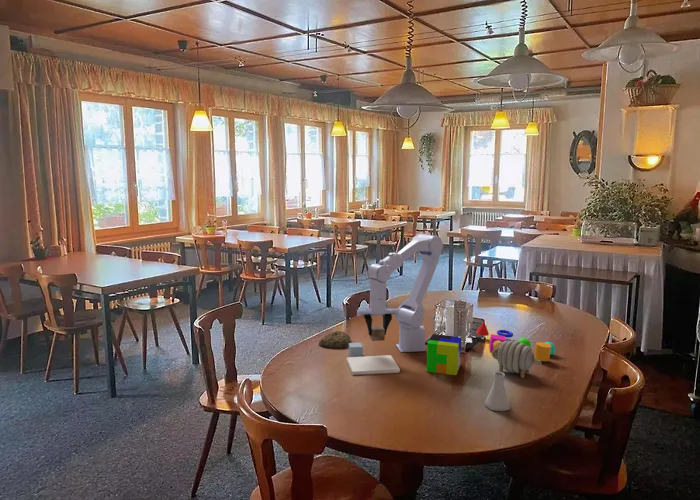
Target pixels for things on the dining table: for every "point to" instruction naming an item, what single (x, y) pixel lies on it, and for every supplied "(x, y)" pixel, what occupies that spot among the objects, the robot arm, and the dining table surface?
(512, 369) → the toy sheep
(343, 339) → the bread roll
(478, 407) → the dining table surface
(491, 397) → the flask
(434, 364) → the puzzle toy
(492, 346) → the shape set
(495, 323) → the dining table surface
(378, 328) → the walnut block
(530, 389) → the dining table surface
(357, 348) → the slate block
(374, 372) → the baseplate
